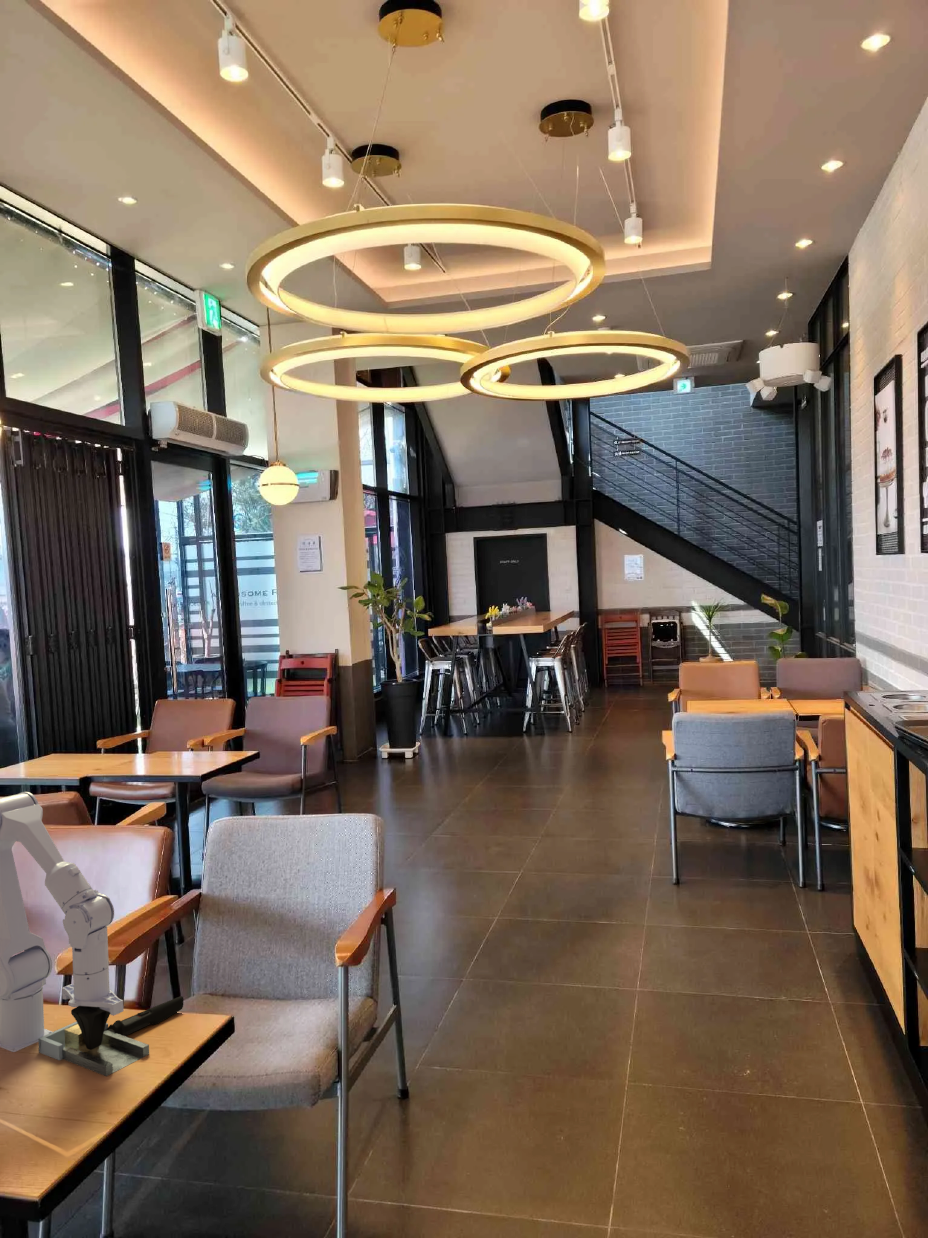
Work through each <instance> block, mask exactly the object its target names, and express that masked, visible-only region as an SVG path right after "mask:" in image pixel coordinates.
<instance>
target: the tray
mask: <svg viewBox="0 0 928 1238" xmlns="http://www.w3.org/2000/svg"><path fill="white" fill-rule="evenodd" d="M76 1024H78V1023H77V1021H76V1020H75V1021H74V1022H73V1023H70V1024H68V1025H66V1026H63V1027H61V1028H59V1029H57V1030H54V1031H52V1033H49V1034H47V1035H45V1036H43V1037H40V1038H38V1042H37V1043H38V1053H39V1054H42V1055H44V1056H47V1057H50V1058H52V1059H54V1060H57V1061H62V1060H64V1059H63V1055H62V1049H64V1048H65V1029H67V1028H69V1027H72V1026H74V1025H76ZM108 1027H109V1023H106V1026H105V1029H106V1030H107V1028H108ZM105 1029H104V1030H105Z"/></svg>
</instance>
